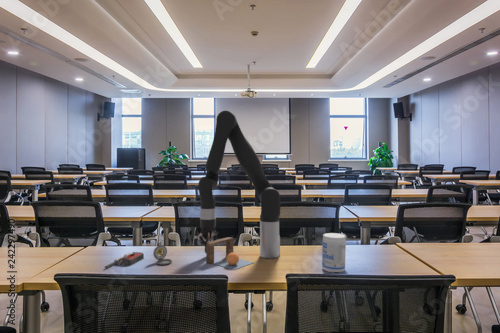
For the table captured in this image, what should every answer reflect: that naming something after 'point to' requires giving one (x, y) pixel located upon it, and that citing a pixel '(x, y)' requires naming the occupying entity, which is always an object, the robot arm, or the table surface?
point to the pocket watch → (159, 251)
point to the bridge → (211, 244)
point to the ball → (232, 258)
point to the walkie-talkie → (128, 259)
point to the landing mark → (240, 264)
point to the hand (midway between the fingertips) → (208, 253)
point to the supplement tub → (333, 252)
